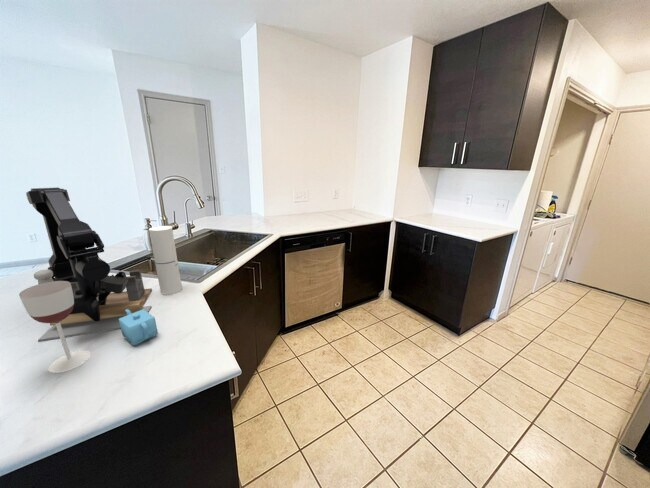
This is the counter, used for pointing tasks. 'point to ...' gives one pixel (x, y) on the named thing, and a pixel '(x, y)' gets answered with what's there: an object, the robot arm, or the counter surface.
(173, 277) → the cylindrical container
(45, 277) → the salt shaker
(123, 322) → the light blue knobbed box
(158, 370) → the counter surface
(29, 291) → the wineglass
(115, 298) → the rail stand
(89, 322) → the grey mat
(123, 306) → the oak rail
